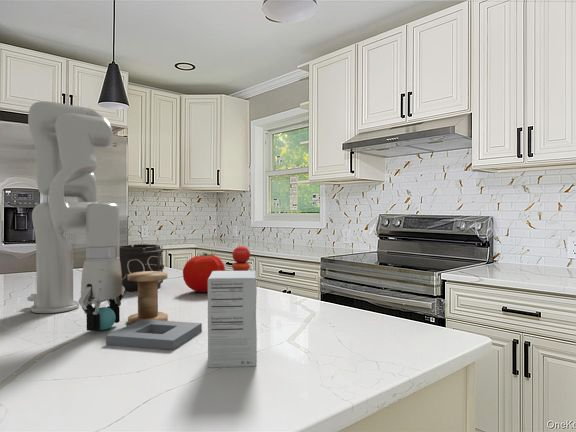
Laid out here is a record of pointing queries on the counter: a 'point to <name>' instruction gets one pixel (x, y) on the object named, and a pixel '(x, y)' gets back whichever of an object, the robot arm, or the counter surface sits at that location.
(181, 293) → the counter surface
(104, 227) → the robot arm
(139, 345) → the square hole board
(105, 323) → the teal ball
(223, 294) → the supplement box
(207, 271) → the tomato
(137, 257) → the black lettered canister
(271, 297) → the counter surface
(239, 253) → the stacking toy
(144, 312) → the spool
